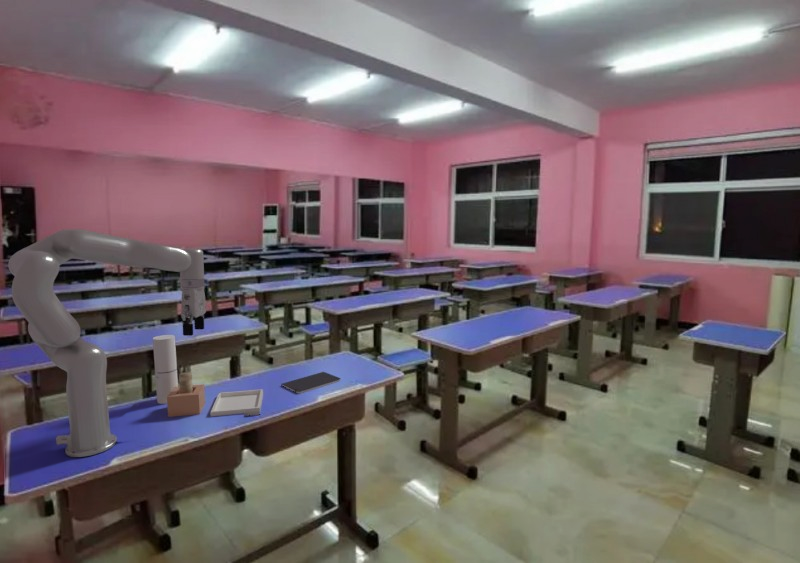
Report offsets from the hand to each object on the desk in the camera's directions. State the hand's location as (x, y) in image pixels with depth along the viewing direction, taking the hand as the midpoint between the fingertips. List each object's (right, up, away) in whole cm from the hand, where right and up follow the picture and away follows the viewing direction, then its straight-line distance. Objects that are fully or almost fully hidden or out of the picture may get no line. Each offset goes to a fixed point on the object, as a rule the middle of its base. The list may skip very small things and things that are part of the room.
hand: (194, 332), depth 154 cm
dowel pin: (-3, -27, +1) cm, 28 cm away
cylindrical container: (-14, -28, +9) cm, 32 cm away
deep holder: (-3, -28, +1) cm, 29 cm away
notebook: (+36, -26, +29) cm, 53 cm away
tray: (+14, -28, +6) cm, 31 cm away
